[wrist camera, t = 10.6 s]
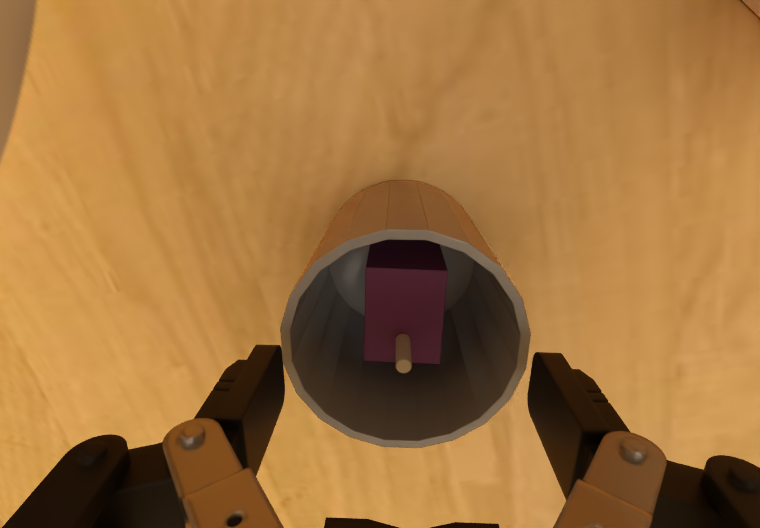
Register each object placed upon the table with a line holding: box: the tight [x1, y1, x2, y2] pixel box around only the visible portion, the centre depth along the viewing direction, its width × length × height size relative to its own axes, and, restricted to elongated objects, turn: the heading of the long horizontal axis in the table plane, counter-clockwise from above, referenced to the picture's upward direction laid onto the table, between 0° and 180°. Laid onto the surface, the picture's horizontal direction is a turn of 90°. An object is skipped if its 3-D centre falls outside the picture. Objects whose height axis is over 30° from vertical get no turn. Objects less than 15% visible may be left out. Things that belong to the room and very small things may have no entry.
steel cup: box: [280, 180, 531, 448], centre depth 20 cm, size 9×9×10 cm
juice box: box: [364, 239, 448, 373], centre depth 20 cm, size 4×3×9 cm
